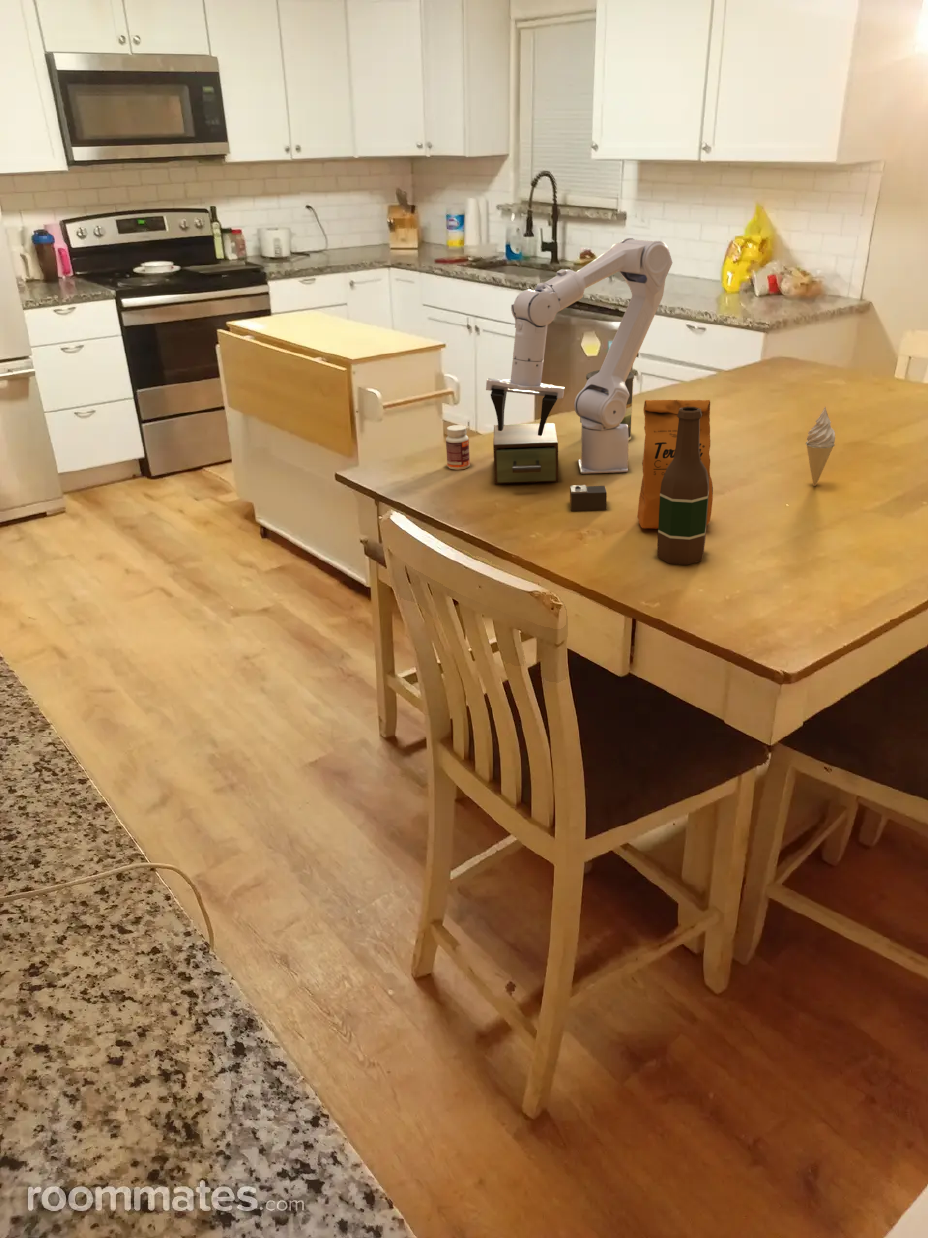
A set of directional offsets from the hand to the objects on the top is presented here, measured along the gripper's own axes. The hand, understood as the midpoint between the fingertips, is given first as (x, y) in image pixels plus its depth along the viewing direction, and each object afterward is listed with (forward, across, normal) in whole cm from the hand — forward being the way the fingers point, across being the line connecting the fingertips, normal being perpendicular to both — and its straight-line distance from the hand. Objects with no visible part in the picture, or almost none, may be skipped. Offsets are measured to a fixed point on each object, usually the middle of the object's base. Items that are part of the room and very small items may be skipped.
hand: (520, 432), depth 175 cm
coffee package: (+9, +30, -17) cm, 36 cm away
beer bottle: (+11, +31, -30) cm, 45 cm away
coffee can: (+6, +17, +33) cm, 38 cm away
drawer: (+9, +2, +5) cm, 11 cm away
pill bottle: (+12, -14, +13) cm, 22 cm away
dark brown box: (+10, +15, -9) cm, 20 cm away
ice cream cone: (+4, +56, +3) cm, 56 cm away
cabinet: (+10, +1, +10) cm, 14 cm away
